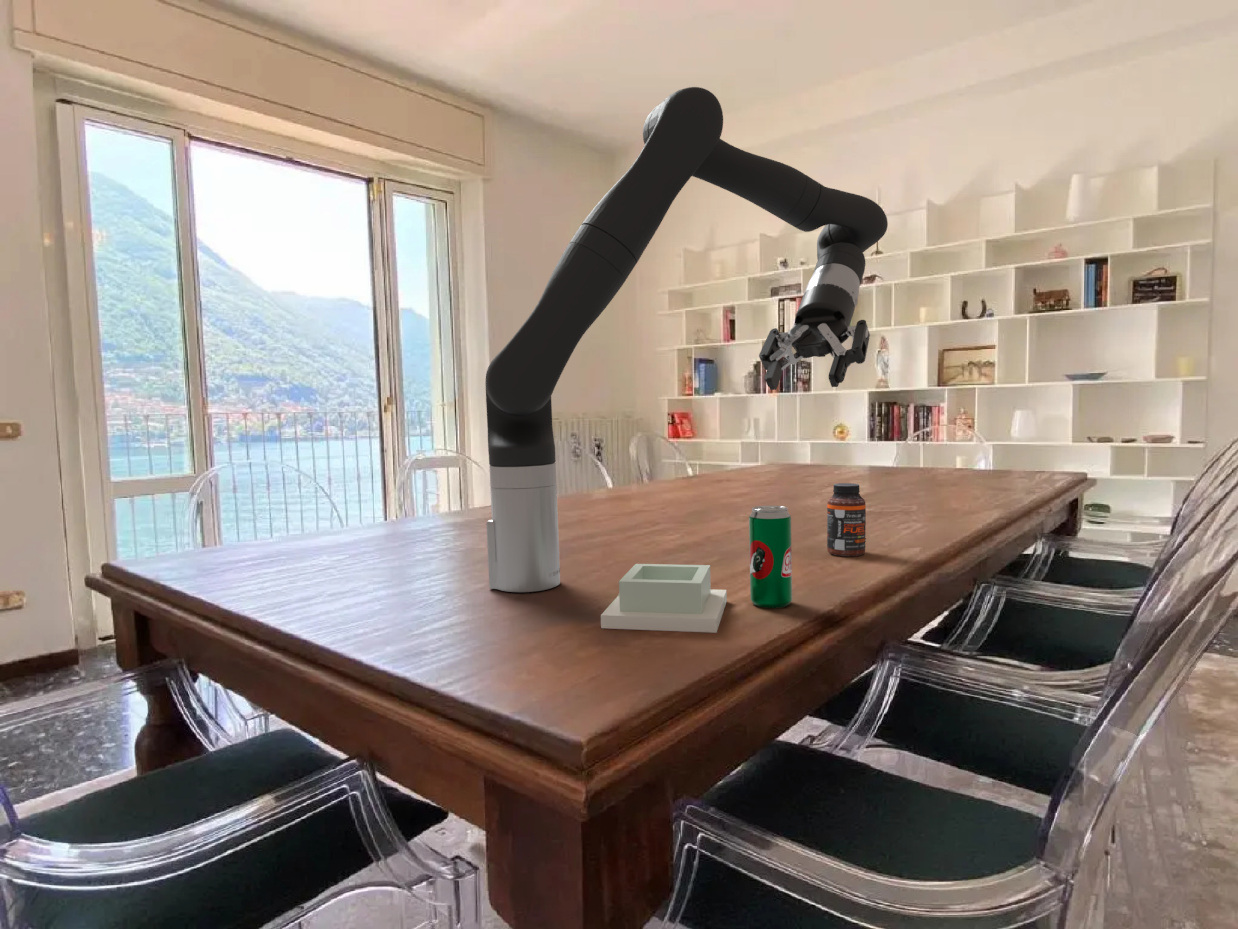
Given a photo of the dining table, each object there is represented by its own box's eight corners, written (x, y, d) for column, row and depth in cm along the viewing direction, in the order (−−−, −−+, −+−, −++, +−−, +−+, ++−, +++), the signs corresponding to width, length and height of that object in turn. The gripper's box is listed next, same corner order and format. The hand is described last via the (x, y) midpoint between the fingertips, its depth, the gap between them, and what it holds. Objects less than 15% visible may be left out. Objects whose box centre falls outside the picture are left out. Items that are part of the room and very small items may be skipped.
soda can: (792, 610, 90) (791, 510, 89) (749, 609, 91) (748, 510, 90) (791, 599, 95) (790, 504, 94) (751, 598, 96) (749, 504, 95)
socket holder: (601, 628, 85) (599, 584, 85) (626, 598, 98) (624, 560, 97) (716, 632, 82) (715, 587, 82) (726, 601, 95) (726, 562, 94)
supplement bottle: (845, 559, 117) (845, 487, 116) (819, 553, 123) (818, 484, 122) (873, 554, 120) (873, 484, 119) (846, 548, 125) (846, 481, 125)
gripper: (774, 288, 110) (742, 367, 101) (873, 275, 101) (847, 360, 93) (789, 327, 114) (760, 405, 106) (884, 317, 106) (861, 401, 98)
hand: (801, 384), depth 100 cm, fingers open, 8 cm apart
